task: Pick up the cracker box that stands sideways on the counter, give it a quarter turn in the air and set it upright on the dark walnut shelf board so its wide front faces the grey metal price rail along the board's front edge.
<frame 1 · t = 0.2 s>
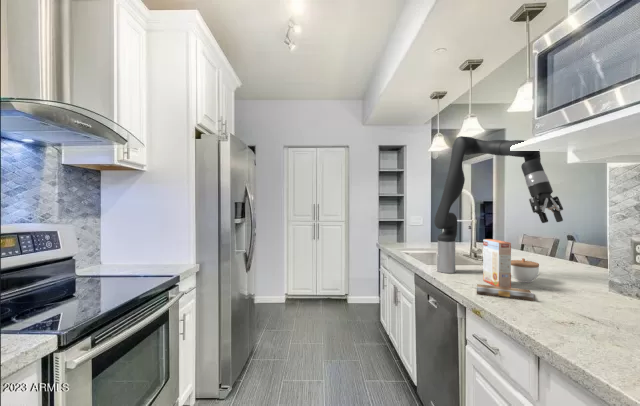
hand: (552, 222, 122), 31 cm above the worktop, tool tilted 20°, fingers open, 8 cm apart
shelf board: (503, 293, 131), on the worktop
cracker box: (496, 284, 146), on the worktop
lidded bowl: (523, 281, 153), on the worktop
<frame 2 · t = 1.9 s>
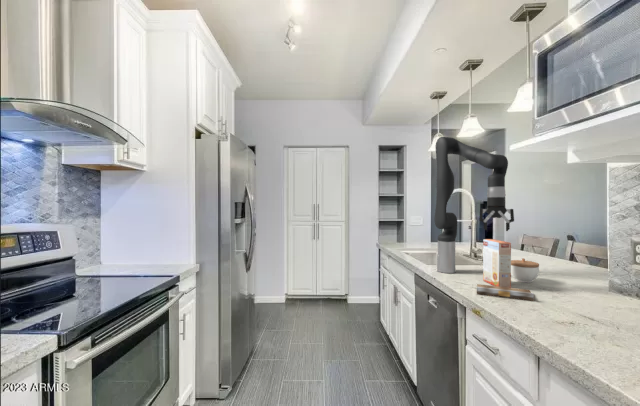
hand: (496, 230, 146), 26 cm above the worktop, tool pointing down, fingers open, 8 cm apart
nothing on the worktop moved.
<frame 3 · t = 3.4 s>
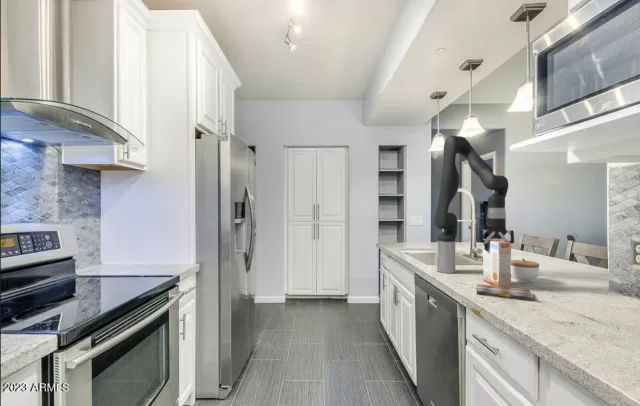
hand: (496, 251, 146), 16 cm above the worktop, tool pointing down, fingers closed on cracker box, 8 cm apart
cracker box: (496, 284, 146), on the worktop, touching gripper
everything else where it was.
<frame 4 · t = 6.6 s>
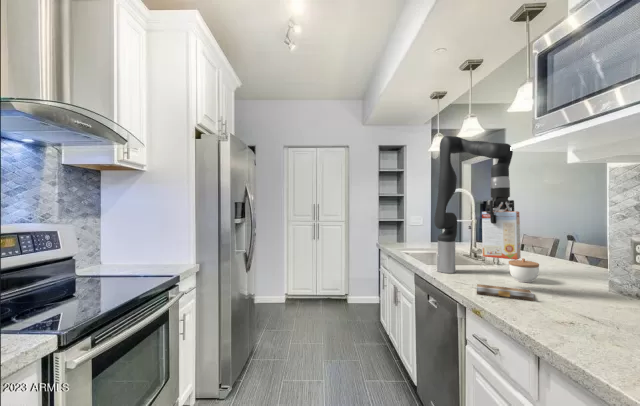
hand: (500, 223, 139), 30 cm above the worktop, tool pointing down, fingers closed on cracker box, 8 cm apart
cracker box: (501, 258, 139), point 14 cm above the worktop, touching gripper
everything else where it was.
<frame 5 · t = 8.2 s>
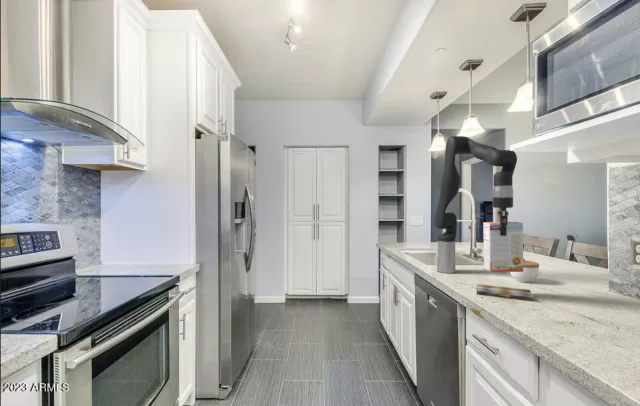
hand: (502, 234, 132), 25 cm above the worktop, tool pointing down, fingers closed on cracker box, 8 cm apart
cracker box: (502, 271, 132), point 9 cm above the worktop, touching gripper
everything else where it was.
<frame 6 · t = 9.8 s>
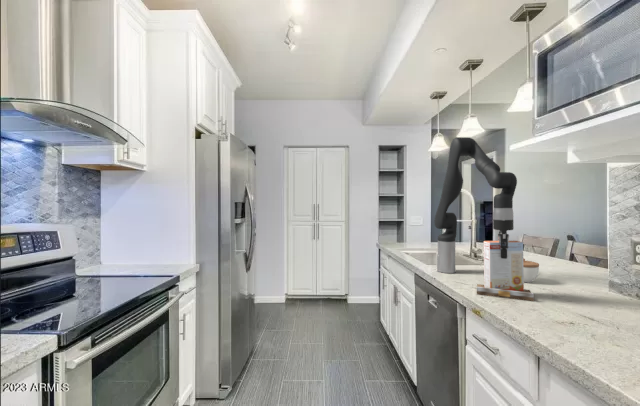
hand: (503, 256, 132), 16 cm above the worktop, tool pointing down, fingers closed on cracker box, 7 cm apart
cracker box: (503, 290, 132), point 1 cm above the worktop, touching gripper, shelf board
everything else where it was.
when the fingers open (15 cm above the worktop, at t = 11.1 s): cracker box stays where it is, resting on shelf board.
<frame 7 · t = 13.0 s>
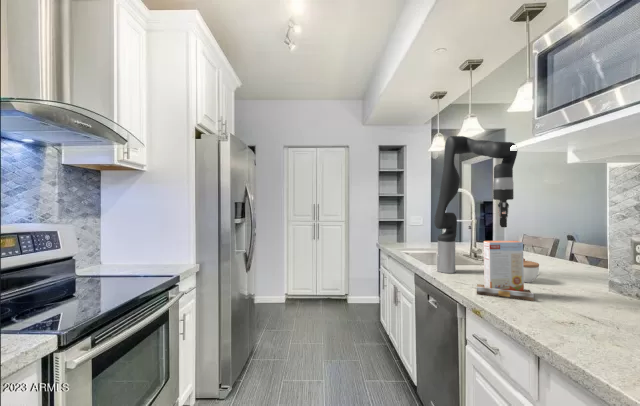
hand: (503, 226, 132), 29 cm above the worktop, tool pointing down, fingers open, 8 cm apart
cracker box: (503, 290, 132), point 1 cm above the worktop, touching shelf board
everything else where it was.
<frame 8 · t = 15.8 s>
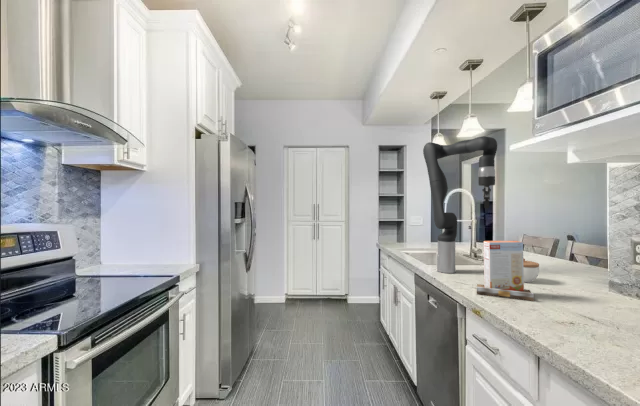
hand: (486, 207, 157), 36 cm above the worktop, tool pointing down, fingers open, 8 cm apart
nothing on the worktop moved.
at the end: cracker box inside the target area on the shelf board (0.1 cm from its centre), point 1.3 cm above the shelf board's base; cracker box tilted 0°; the gripper is holding nothing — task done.
